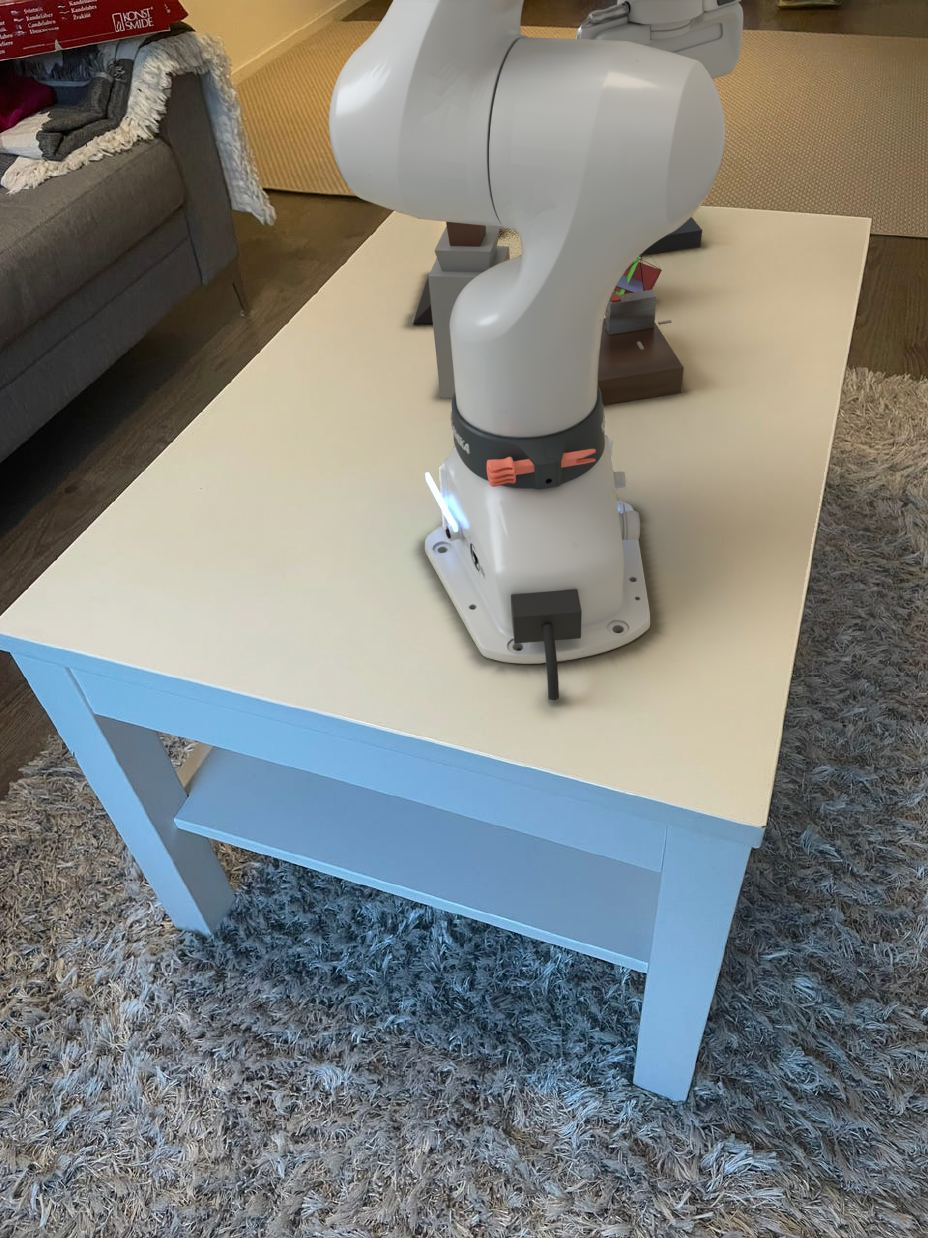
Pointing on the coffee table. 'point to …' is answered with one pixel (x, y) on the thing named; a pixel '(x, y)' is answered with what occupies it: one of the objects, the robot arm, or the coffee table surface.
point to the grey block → (630, 312)
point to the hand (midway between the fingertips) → (652, 136)
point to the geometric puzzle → (637, 278)
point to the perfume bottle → (458, 283)
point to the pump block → (678, 239)
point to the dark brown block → (637, 365)
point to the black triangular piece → (424, 309)
